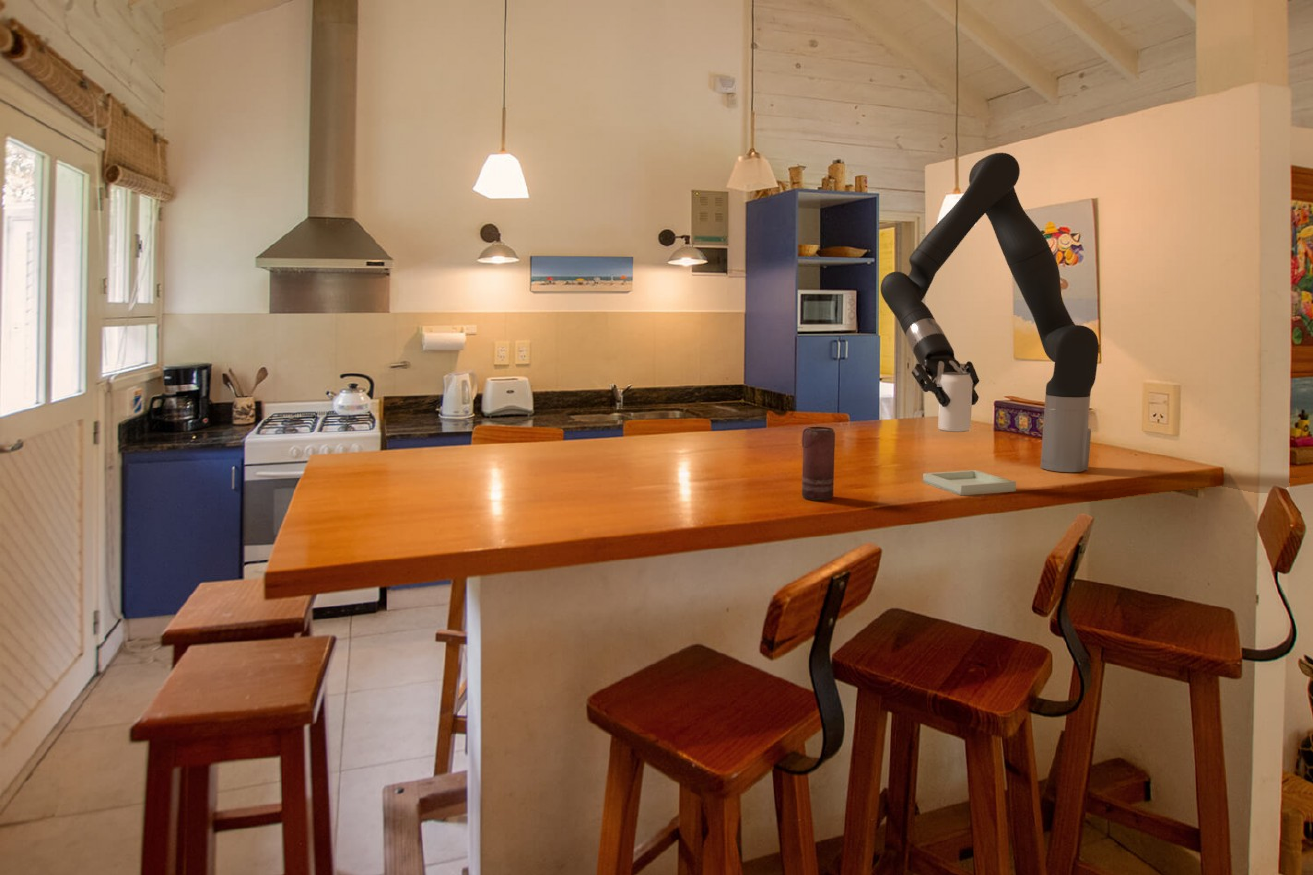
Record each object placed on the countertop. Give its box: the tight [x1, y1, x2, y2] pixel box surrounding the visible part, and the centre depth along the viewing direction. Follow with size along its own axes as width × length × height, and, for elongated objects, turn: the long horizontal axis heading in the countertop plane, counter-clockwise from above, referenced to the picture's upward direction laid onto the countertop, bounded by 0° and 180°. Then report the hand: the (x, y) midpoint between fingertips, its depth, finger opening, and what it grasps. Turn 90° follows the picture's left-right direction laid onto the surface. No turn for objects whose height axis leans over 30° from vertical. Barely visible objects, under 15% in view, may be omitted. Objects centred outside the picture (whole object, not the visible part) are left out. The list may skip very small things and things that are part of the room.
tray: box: [922, 469, 1017, 496], centre depth 171 cm, size 13×13×2 cm
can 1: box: [801, 426, 836, 502], centre depth 161 cm, size 6×6×14 cm
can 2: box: [937, 372, 973, 433], centre depth 171 cm, size 6×6×12 cm
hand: (960, 403), depth 169 cm, fingers closed on can 2, 6 cm apart
